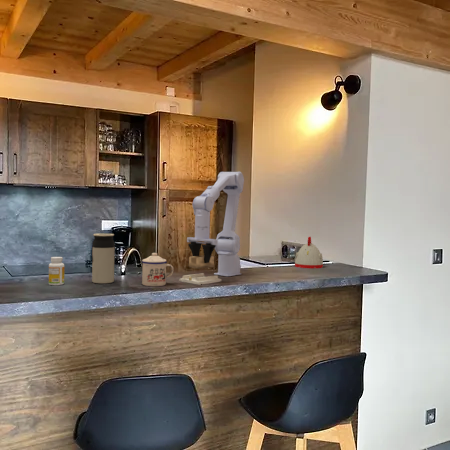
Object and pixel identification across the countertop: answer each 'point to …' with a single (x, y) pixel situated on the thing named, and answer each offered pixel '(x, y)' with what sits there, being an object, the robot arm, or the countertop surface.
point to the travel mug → (103, 258)
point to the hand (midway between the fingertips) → (201, 262)
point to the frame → (200, 262)
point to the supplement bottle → (56, 271)
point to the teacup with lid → (155, 271)
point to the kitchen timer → (309, 256)
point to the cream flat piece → (199, 279)
